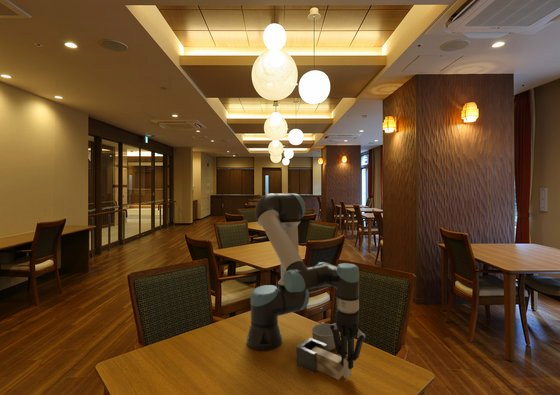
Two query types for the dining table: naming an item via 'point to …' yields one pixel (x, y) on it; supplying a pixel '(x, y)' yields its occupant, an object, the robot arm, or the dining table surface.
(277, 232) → the robot arm
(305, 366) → the end cap
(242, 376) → the dining table surface
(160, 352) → the dining table surface
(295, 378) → the dining table surface
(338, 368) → the beige marbled block
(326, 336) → the teacup
